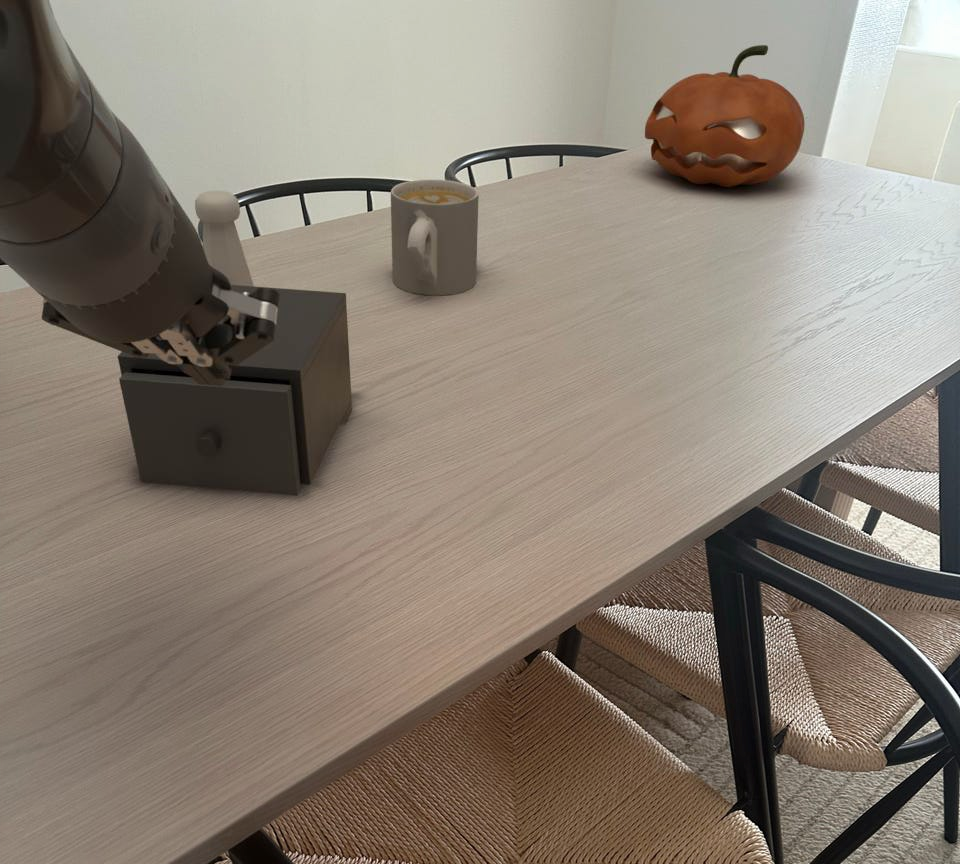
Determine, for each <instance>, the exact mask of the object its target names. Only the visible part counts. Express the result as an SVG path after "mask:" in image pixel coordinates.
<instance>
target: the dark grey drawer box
mask: <svg viewBox="0 0 960 864" xmlns="http://www.w3.org/2000/svg"><path fill="white" fill-rule="evenodd" d="M261 287H262V286H255V285H254V286H240V285H231V290H232V291H235V292H237V293H240V294H241V293H242V292H248V293H250V294H251V293H253V292H254V291H255V290H256V289H258V288H261ZM264 287H265V286H264ZM265 288H269V287H268V286H267V287H265ZM270 288H271V289H274V290H276V291H277V292H279V294H280V298H279V306H278V314H277V322H276V330H275V337H274V341H272V342H271V343H269V344H268V345H267V346H265V347H264V348H262V349H261V350H259V351H258V352H256V353H255V354H253V355H252V356H250V357H249V358H247V359H246V360H244V361H243V362H241V363H240V364H238V365H232V369H231V376H239V377H251V378H264V379H277V380H290V385H291V389H292V400H293V410H294V420H295V431H296V441H297V452H298V462H299V473H300V483H301V485H306V486H310V485H312V482H313V481H314V478H315V476H316V474H317V472H318V470H319V468H320V466H321V464H322V461H323V460H324V457H325V456H326V453H327V451H328V449H329V447H330V445H331V442H332V440H333V438H334V436H335V434H336V432H337V430H338V428H339V425H343V426H344V425H346V423H347V421H348V419H349V417H350V415H351V413H352V410H353V400H352V398H353V397H352V382H351V365H350V364H351V362H350V361H351V360H350V346H349V345H350V344H349V327H348V326H349V325H348V308H347V307H348V306H347V293H346V292H337V291H321V290H308V289H295V288H294V289H293V288H280V287H279V288H278V287H270ZM222 323H223V319H222V320H221V321H220V322H219V323H218V324H222ZM117 360H118V366H119V370H120V374H121V376H122V375H123V374H124V373H125V372H128V373H141V374H144V369H149V370H162V371H175V372H183V371H182V370H181V369H180V368H179V366H177V365H176V364H175V365H173V364H169V363H167V362H165V361H163V360H162V359H161V358H159V357H158V356H157V355H156V354H150V353H149V354H148V357H145V358H137V357H134V356H132V355H129V354H127V353H124V352H122V351H120V353H119V354H118V355H117Z"/></svg>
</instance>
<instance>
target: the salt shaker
mask: <svg viewBox="0 0 960 864" xmlns="http://www.w3.org/2000/svg"><path fill="white" fill-rule="evenodd" d="M240 207H241V206H240V202H239V198H237V196H235V194H233V193H232V192H230V191H226V190H210V191H205V192H202V193H199V194H198V196H197V197H196V199H195V200H194V210H195V214H196V217H197V218H198V219H199V221H202V224H203V225H202V246H203V249H204V252H205V255H206V258H207V261H208V264H209V265H210V266H212V267H213V268H215V269H216V270H218V271H220V272H221V273H223V274H224V275H225V276H226V277H227V278H228V280H229V281H230V284H231V285H240V286H254V287H255V284H254V281H253V278H252V275H251V271H250V268H249V266H248V263H247V259H246V256H245V252H244V249H243V246H242V242H241V240H240V236H239V234H238V230H237V226H236V223H235V221H237V220H238V219H239V217H240V215H241V208H240Z"/></svg>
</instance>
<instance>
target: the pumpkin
mask: <svg viewBox="0 0 960 864" xmlns="http://www.w3.org/2000/svg"><path fill="white" fill-rule="evenodd" d="M768 51H769V46H768V45H767V44H761V45H760V44H759V45H754V46H753V45H752V46H749V47H746V48H745V49H743V50H742V51H740V52H739V54H738V55H737V56H736V58H735V60H734V62H733V64H732V68H731V71H730V73H729V72H727V71H726V72H725V71H721V72H720V71H719V72H716V73H714V74H711V73H703V72H702V73H696V74H692V75H689V76H687V77H685V78H683V79H680V80H679V81H677V82H675V83H674V84H673V85H672V86H670V87H669V88H668V89H667V90H666V91H665V92H663V94H662V95H661V96H660V97H659V99H658V100H657V101H656V102H655V104H654V105H653V108H652V110H651V112H650V114H649V116H648V118H647V120H646V121H645V127H644V139H646V140H652V144H651V146H650V156H651V159H652V160H653V161H655V162H656V163H657V164H658V165H660V167H662V169H664V170H666V171H667V172H669V173H670V174H672V175H674V176H676V177H679V178H684V179H686V180H688V181H689V182H691V183H692V184H696V185H708V184H715V185H717V186H719V187H721V188H722V187H723V188H732V187H735V186H738V185H742V186H749V185H751V186H752V185H756V184H760V183H763V182H766V181H768V180H771V179H772V178H775V177H777V175H779V174H781V173H782V172H783V171H784V170H786V169H787V168H788V167H789V165H791V163H792V162H793V161H794V159H795V158H796V157H797V155H798V152H799V151H800V148H801V146H802V145H801V144H802V140H803V137H804V133H805V125H806V124H805V116H804V112H803V109H802V107H801V106H800V103H799V102H798V100H797V98H796V97H795V96H794V95H793V94H792V93H791V92H790V91H789V90H788V89H787V88H786V87H784V86H783V85H781V84H779V83H778V82H776V81H773V80H771V79H768V78H759V77H758V76H756V75H754V74H749V73H747V74H744V73H743V74H740V75H739V68H740V66H741V64H742V62H743V61H744V60H746V59H747V58H749V57H754V56H766V55H767V53H768Z"/></svg>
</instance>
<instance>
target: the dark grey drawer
mask: <svg viewBox="0 0 960 864" xmlns="http://www.w3.org/2000/svg"><path fill="white" fill-rule="evenodd" d="M118 380H119V385H120V389H121V395H122V399H123V405H124V409H125V413H126V418H127V422H128V427H129V432H130V437H131V442H132V447H133V451H134V456H135V461H136V466H137V470H138V474H139V479H140V482H141V483H145V484H146V483H147V484H158V485H170V486H179V487H181V486H182V487H193V488H203V489H205V488H206V489H214V490H215V489H217V490H227V491H228V490H230V491H240V492H249V493H250V492H252V493H261V494H262V493H264V494H275V495H276V494H277V495H287V496H298V495H299V493H300V492H301V489H302V486H301V485H302V484H301V483H300V473H299V462H298V452H297V441H296V431H295V420H294V410H293V400H292V389H291V385H290V380H277V379H264V378H251V377H239V376H230V379H225V383H224V385H223V386H213V385H201V384H198V383H197V382H196V381H195V380H194V379H193V378H192V377H191V376H189V375H187V374H186V373H184V372H175V371H162V370H149V369H144V374H141V373H128V372H125V373H124V374H123V375H121V376H120V377H119V378H118Z"/></svg>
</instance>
